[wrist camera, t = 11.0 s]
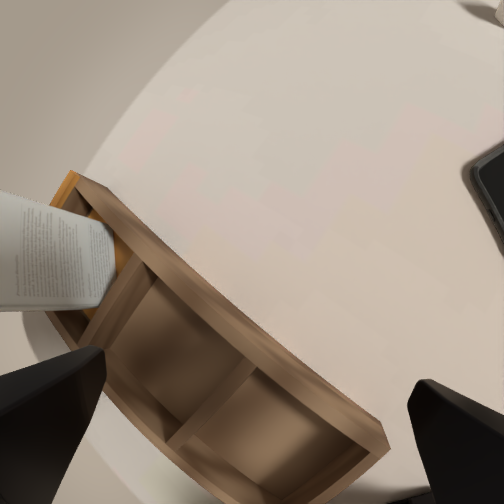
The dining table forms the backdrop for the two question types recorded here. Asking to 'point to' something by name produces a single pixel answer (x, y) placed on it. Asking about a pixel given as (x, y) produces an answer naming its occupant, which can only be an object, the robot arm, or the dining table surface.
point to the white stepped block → (500, 12)
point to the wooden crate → (212, 375)
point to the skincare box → (52, 257)
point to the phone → (491, 186)
